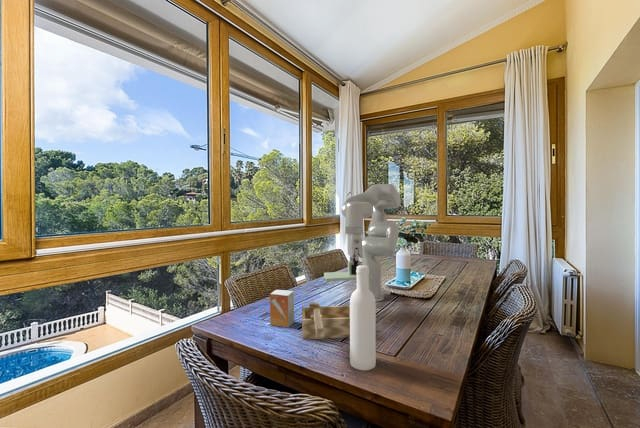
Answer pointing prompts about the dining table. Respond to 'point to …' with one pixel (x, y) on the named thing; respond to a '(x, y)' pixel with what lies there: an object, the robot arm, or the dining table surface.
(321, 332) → the key
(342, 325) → the toolbox
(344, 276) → the lid
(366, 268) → the bottle
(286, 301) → the small box
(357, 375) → the dining table surface
